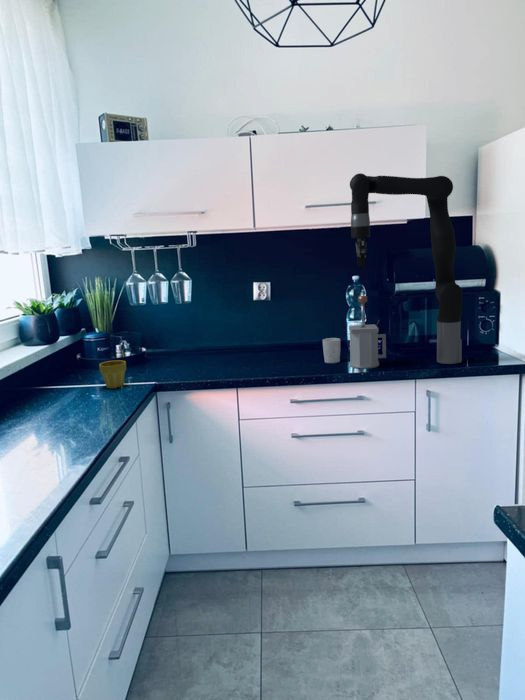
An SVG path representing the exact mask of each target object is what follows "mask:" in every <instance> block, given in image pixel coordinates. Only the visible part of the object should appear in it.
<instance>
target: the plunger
mask: <svg viewBox="0 0 525 700" xmlns="http://www.w3.org/2000/svg"><path fill="white" fill-rule="evenodd" d="M357 298H358V299H357V301H358V303H361V305H360V306H361V307H360V308H361V325H362V328H364V327H365V325H366V323H365V322H366V320H365V316H366V315H365V303H368V296H367V295H358V296H357Z"/></svg>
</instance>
